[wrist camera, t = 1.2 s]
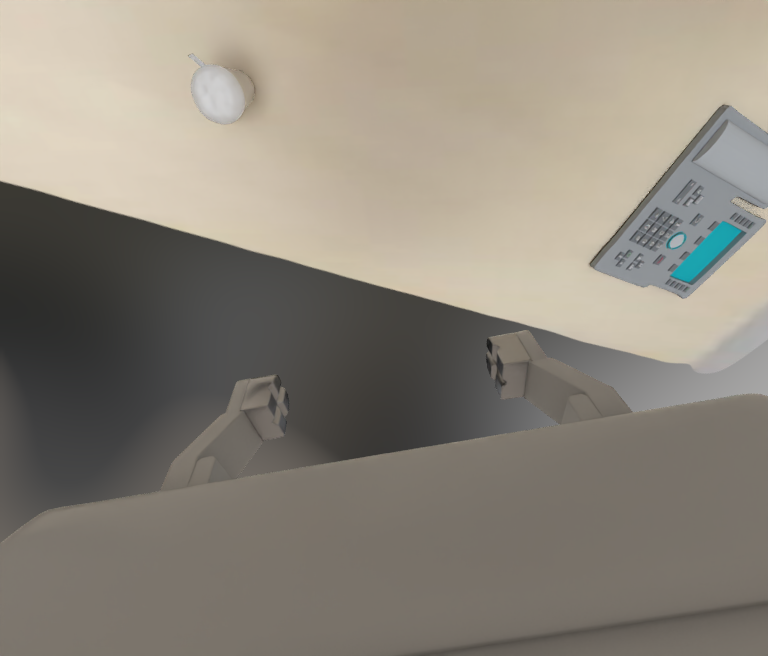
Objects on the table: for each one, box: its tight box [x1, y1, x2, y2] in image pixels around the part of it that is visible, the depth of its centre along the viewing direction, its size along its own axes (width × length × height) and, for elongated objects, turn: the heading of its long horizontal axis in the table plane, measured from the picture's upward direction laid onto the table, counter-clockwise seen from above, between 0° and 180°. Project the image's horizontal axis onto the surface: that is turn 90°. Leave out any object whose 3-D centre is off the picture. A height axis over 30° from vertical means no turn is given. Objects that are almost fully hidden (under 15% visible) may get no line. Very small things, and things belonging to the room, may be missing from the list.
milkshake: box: [188, 54, 255, 124], centre depth 34 cm, size 5×5×10 cm
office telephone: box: [590, 105, 768, 299], centre depth 51 cm, size 23×3×20 cm
